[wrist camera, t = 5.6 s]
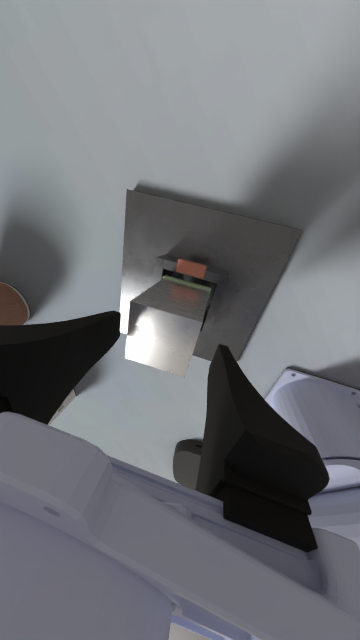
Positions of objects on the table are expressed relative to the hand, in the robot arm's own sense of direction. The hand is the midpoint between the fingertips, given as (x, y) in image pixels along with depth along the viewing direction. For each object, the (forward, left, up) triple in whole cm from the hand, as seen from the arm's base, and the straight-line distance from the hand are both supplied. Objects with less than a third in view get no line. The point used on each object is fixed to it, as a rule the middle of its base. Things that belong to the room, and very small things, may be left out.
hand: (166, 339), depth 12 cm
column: (0, -1, -5) cm, 5 cm away
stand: (0, -1, -9) cm, 9 cm away
